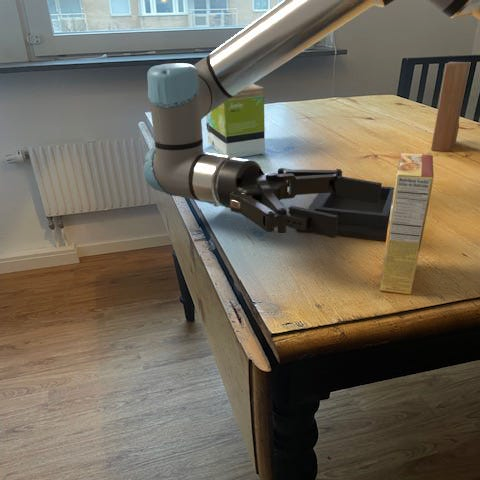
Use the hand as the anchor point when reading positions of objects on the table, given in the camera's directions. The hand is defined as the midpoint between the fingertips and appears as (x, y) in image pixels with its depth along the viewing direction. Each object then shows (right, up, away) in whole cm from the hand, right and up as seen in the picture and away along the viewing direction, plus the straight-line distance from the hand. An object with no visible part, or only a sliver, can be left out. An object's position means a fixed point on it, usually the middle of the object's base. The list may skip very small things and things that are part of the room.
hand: (359, 209), depth 66 cm
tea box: (-17, +27, +57) cm, 65 cm away
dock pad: (+4, +3, +19) cm, 19 cm away
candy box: (+6, -9, +2) cm, 11 cm away
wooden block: (+33, +26, +53) cm, 67 cm away
